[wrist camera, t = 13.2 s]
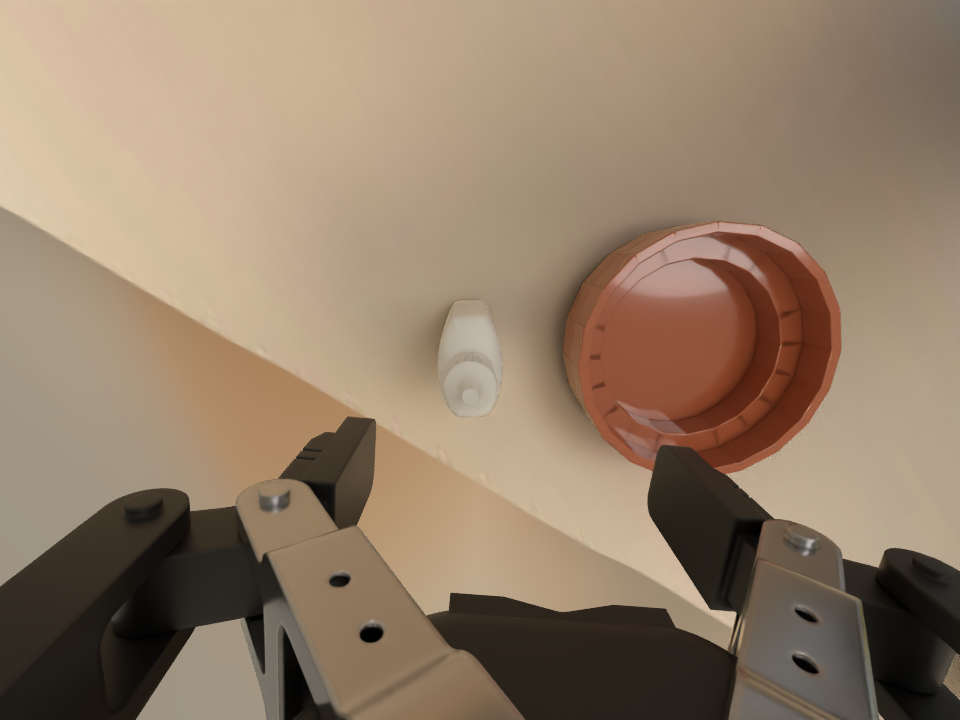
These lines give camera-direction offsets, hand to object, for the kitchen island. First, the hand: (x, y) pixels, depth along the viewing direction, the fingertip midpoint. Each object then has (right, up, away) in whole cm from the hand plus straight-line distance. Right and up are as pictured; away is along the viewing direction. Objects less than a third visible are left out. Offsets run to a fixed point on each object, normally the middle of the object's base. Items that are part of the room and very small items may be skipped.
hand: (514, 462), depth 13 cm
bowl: (+12, +4, +18) cm, 22 cm away
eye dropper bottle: (-2, +4, +18) cm, 19 cm away
